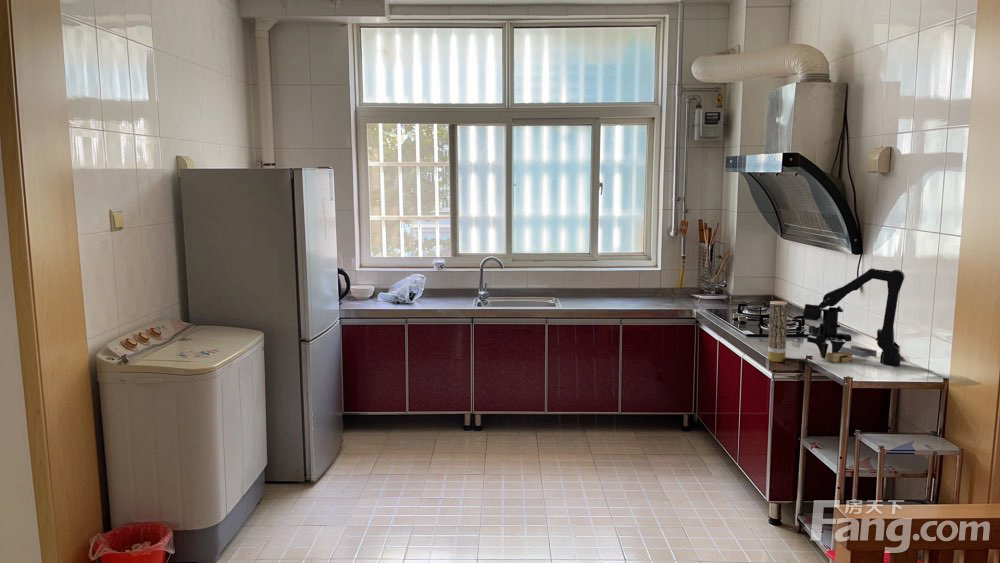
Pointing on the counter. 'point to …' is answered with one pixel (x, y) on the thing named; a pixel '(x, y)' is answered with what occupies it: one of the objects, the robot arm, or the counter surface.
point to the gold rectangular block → (841, 358)
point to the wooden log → (777, 331)
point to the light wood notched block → (835, 356)
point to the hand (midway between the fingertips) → (828, 358)
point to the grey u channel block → (859, 351)
